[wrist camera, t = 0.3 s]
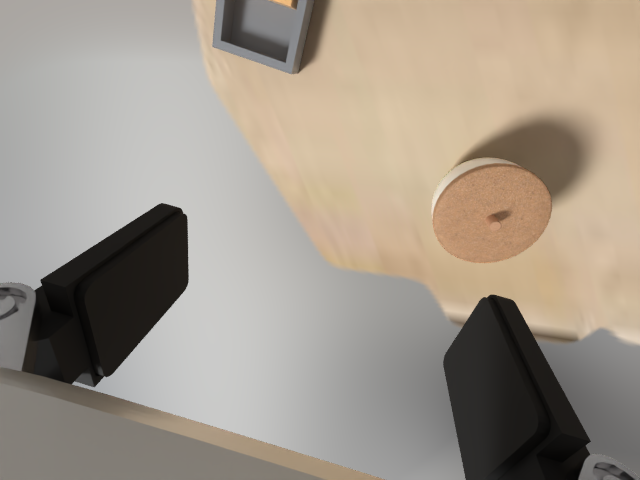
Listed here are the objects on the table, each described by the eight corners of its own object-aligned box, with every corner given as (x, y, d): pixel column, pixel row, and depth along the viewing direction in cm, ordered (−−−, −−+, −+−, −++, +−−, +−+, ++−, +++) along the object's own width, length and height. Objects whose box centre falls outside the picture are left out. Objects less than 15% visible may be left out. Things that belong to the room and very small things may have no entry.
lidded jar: (502, 235, 40) (533, 279, 32) (416, 224, 41) (425, 264, 33) (537, 150, 34) (584, 178, 26) (436, 141, 36) (452, 165, 28)
